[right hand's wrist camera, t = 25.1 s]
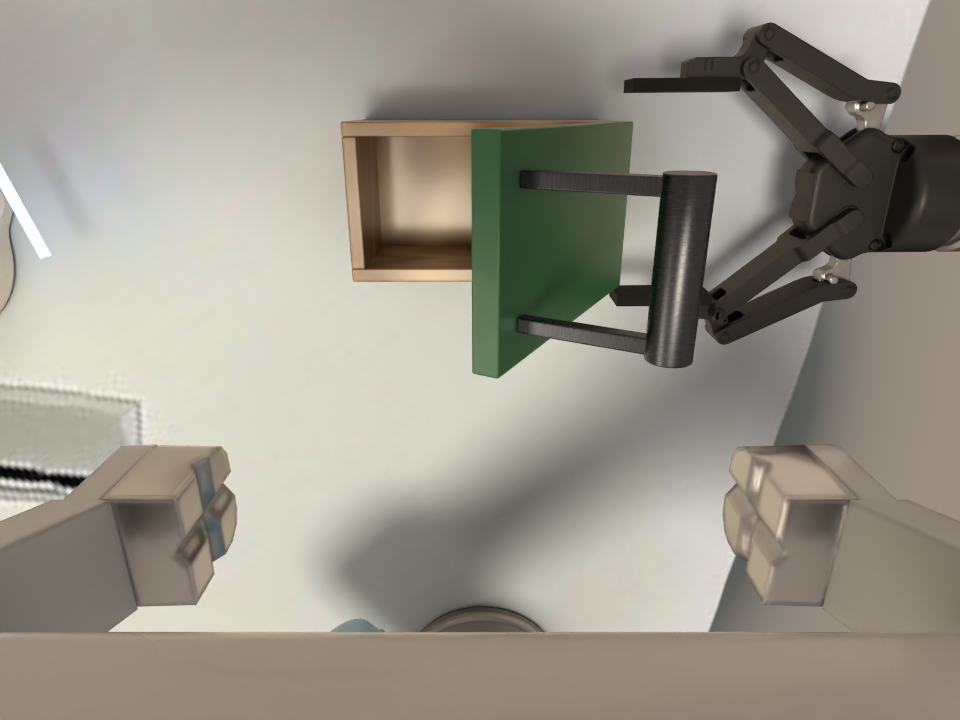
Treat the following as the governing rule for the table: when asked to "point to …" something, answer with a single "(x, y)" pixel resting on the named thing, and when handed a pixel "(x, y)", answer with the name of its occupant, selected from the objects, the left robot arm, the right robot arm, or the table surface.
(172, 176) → the table surface
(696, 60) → the left robot arm
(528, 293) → the lid
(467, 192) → the chest
